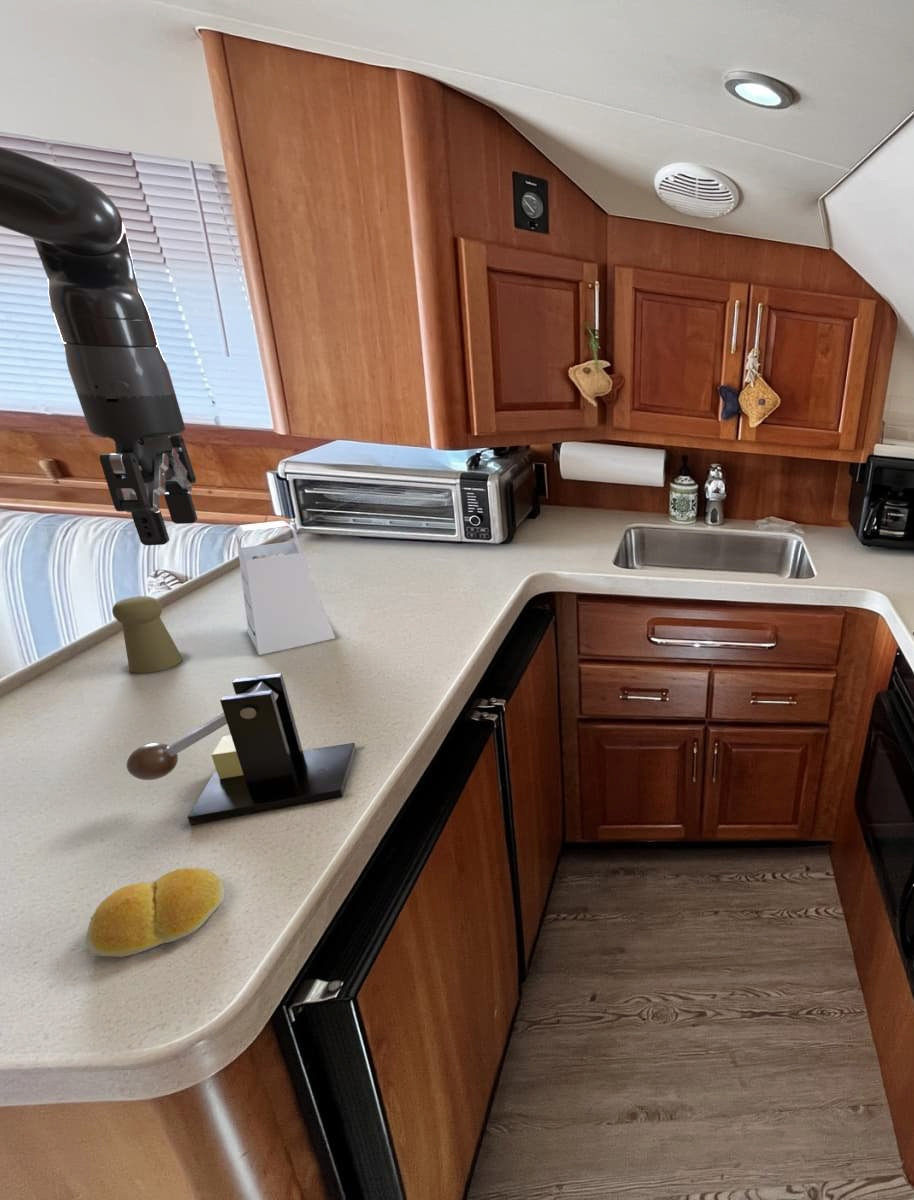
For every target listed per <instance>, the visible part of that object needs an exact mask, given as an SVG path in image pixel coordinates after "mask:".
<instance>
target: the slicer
mask: <svg viewBox="0 0 914 1200" xmlns="http://www.w3.org/2000/svg"><path fill="white" fill-rule="evenodd" d="M260 682H263V683H264V684H265V685H267V686H268V687H269V688H270V689H272V690H269V691H261V692H253V693H244V694H241V693H243V692H245V691H246V690H248V689H250V688H251V687H253V686H255V685H257V684H258V683H260ZM231 684H232V688H233V690H234V694H228V695H222V697H221V698H220V700H219V702H220V706H221V708H222V711H223V713H224V715H225V718H226V721H227V724H226V725H227V728H228V730H229V733H230V735H231V737H232V740H233V743H234V746H235V749H236V752H237V756H238V759H239V762H240V765H241V768H242V771H243V775H241V776H235V777H229V778H223V779H219V777H218V774H217V771H216V769H214V771H213V773H212V775H211V776H210V778H209V780H208V781H207V783H206V785H205V787H204V788H203V790H202V792H201V793H200V795H199V797H198V799H197V801H196V802H195V804H194V806H192V809H191V810H190V812H189V813H188V816H187V820H188V823H189V825H190V826H197V825H202V824H207V823H212V822H217V821H224V820H229V819H235V818H239V817H244V816H251V815H255V814H256V815H257V814H261V813H266V812H267V813H268V812H271V811H277V810H282V809H288V808H293V807H299V806H305V805H310V804H315V803H321V802H326V801H332V800H336V799H341V798H343V796H344V793H345V790H346V786H347V783H348V779H349V775H350V772H351V769H352V765H353V761H354V758H355V755H356V752H357V748H356V743H355V742H350V743H344V744H337V745H330V746H323V747H317V748H311V749H305V750H303V747H302V742H301V739H300V736H299V735H300V734H299V732H298V728H297V725H296V724H297V723H296V721H295V720H296V719H295V717H294V713H293V709H292V705H291V703H290V697H289V694H288V691H287V687H286V684H285V680H284V676H283V673H272V674H263V675H255V676H247V677H246V676H245V677H235V678H234V680H233V681H232V682H231ZM273 691H274V692H275V693H277V694H278V695H279V696H278V697H277V699H276V701H275V697H274V693H273Z"/></svg>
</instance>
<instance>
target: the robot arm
mask: <svg viewBox="0 0 914 1200" xmlns="http://www.w3.org/2000/svg"><path fill="white" fill-rule="evenodd" d="M0 227H1V228H4V229H7V230H9V231H12V232H15V233H18V234H21V235H23V236H26V237H28V238H32V240H33V243H34V245H35V248H36V252H37V254H38V256H39V260H40V262H41V265H42V267H43V270H44V272H45V274H46V277H47V282H48V284H47V294H48V295H47V296H48V299H49V304H50V308H51V312H52V314H53V317H54V320H55V323H56V326H57V329H58V333H59V334H60V338H61V341H62V342H63V343H62V344H63V348H64V353H65V359H66V365H67V368H68V372H69V375H70V378H71V381H72V384H73V386H74V389H75V392H76V395H77V398H78V401H79V405H80V407H81V409H82V413H83V416H84V418H85V422H86V425H87V427H88V430H89V432H90V433H91V434H93V435H94V436H96V437H100V438H109V439H111V440H113V441H114V446H115V447H114V448H115V453H100V455H99V461H100V465H101V468H102V471H103V474H104V478H105V481H106V485H107V488H108V491H109V494H110V498H111V500H112V503H113V507H114V509H115V511H116V512H126V513H128V514H129V513H130V515H131V517H132V520H133V523H134V526H135V529H136V532H137V535H138V539H139V541H140V543H141V544H142V545H144V546H164V545H166V544H167V543H169V542H170V536H169V533H168V529H167V526H166V524H165V521H164V517H163V515H162V511H161V510H160V495H162V494H163V497H164V499H165V503H166V507H167V510H168V513H169V515H170V519H171V521H172V523H174V524H176V525H186V524H187V525H188V524H189V525H190V524H195V523H196V522H197V521H198V515H197V512H196V509H195V508H196V507H195V506H194V502H193V498H192V495H191V492H192V490H193V486H192V484H195V483H196V481H197V477H196V475H195V472H194V469H193V466H192V463H191V460H190V456H189V453H188V450H187V447H186V444H185V443H186V442H185V439H184V436H183V435H182V434H183V433H184V432H185V431H186V426H185V422H184V419H183V415H182V413H181V412H182V411H181V408H180V405H179V402H178V398H177V394H176V391H175V387H174V385H173V380H172V377H171V374H170V370H169V367H168V365H167V363H166V360H165V358H164V357H163V354H162V351H161V349H160V347H159V343H158V339H157V335H156V333H155V329H154V325H153V321H152V319H151V316H150V313H149V310H148V307H147V305H146V302H145V300H144V297H143V296H142V294H141V292H140V289H139V287H138V281H137V276H136V272H135V267H134V262H133V258H132V254H131V250H130V245H129V240H128V236H127V232H126V229H125V223H124V221H123V218H122V215H121V212H120V211H119V210H118V207H117V206H116V204H115V203H114V202H113V200H112V199H111V198H110V197H109V196H108V195H107V194H106V193H105V192H104V191H103V190H102V189H101V188H99V186H97V185H95V184H94V183H93V182H91V181H89V180H87V179H86V178H84V177H81V176H80V175H77V174H75V173H73V172H70V171H69V170H67V169H66V170H65V169H63V168H60V167H58V166H55V165H53V164H50V163H47V162H44V161H41V160H39V159H36V158H33V157H30V156H28V155H25V154H21V153H18V152H16V151H13V150H10V149H7V148H5V147H2V146H0Z"/></svg>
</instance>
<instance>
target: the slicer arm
mask: <svg viewBox="0 0 914 1200" xmlns="http://www.w3.org/2000/svg"><path fill="white" fill-rule="evenodd" d="M269 690H272V689H270V688H269V687H268V686H267V685H265V684H264V683H263V682H260V683H258V684H257V685H255V686H253V687H251V688H250V689H248V690H246V691H245V692H243V693H241V694H244V693H253V692H261V691H269ZM273 693H274V697H275V701H276V699H277V697H278V696H279V695H278V694H277V693H275V692H274V691H273ZM225 725H228V724H227V721H226V718H225V715H224V712H222V713H220V714H218V715H217V716H216V717H214V718H212V719H210V720H209V721H207V722H205V723H204V724H202V725H201V726H198V727H197V728H195V729H194V730H192V731H190V732H189V733H187V734H185V735H184V736H182V737H180V738H179V739H176V740H175V741H173V742H172V743H170V744H166V743H161V742H153V743H147V744H144V745H141V746H139V747H137V748H136V749H135V750H133V751H132V752H131V753H130V755H129V756H128V758H127V760H126V770H127V771H128V773H129V774H130V775H131V776H132V777H134V778H136V779H138V780H142V781H153V780H158V779H161V778H164V777H166V776H167V775H168V774H170V773H171V772H172V771H173V770H174V769H175V768H176V767H177V764H178V761H179V755H178V754H179V753H181V752H182V751H185V749H188V748H189V747H190V746H192V745H194V744H195V743H197V742H200V741H201V740H202V739H204V738H206V737H208V736H209V735H211V734H212V733H214V732H216V731H217V730H219V729H221V728H223V727H224V726H225Z"/></svg>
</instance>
